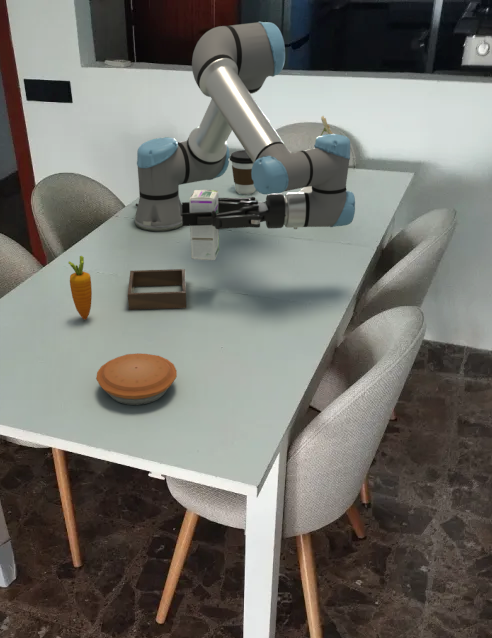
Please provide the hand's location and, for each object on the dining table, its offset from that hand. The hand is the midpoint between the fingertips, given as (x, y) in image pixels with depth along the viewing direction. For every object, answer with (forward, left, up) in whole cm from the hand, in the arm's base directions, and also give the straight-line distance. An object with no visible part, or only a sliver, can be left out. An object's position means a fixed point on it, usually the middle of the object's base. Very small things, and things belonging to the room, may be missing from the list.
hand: (182, 214), depth 159 cm
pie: (+31, -30, -20) cm, 47 cm away
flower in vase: (-35, +70, -20) cm, 81 cm away
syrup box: (+3, +4, -10) cm, 11 cm away
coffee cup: (-56, +58, -20) cm, 83 cm away
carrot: (-2, -26, -20) cm, 33 cm away
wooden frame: (-3, -6, -20) cm, 21 cm away
